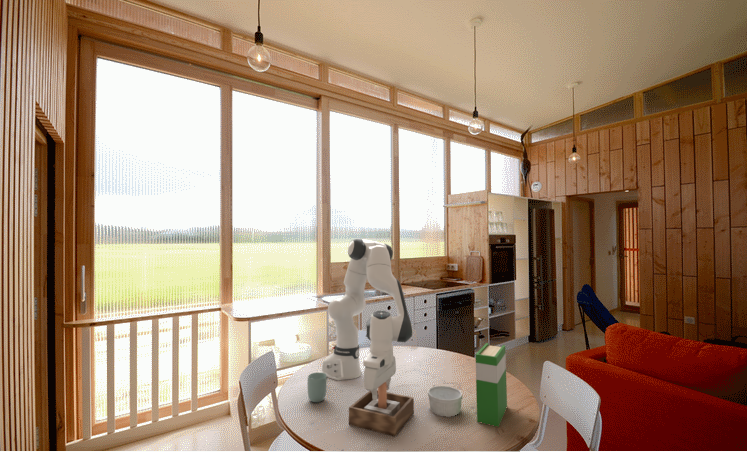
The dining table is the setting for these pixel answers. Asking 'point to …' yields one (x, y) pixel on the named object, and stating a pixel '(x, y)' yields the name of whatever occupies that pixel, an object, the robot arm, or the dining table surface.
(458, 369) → the dining table surface
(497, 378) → the hardback book
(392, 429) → the box
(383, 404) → the peg
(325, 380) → the cup
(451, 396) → the ramekin
